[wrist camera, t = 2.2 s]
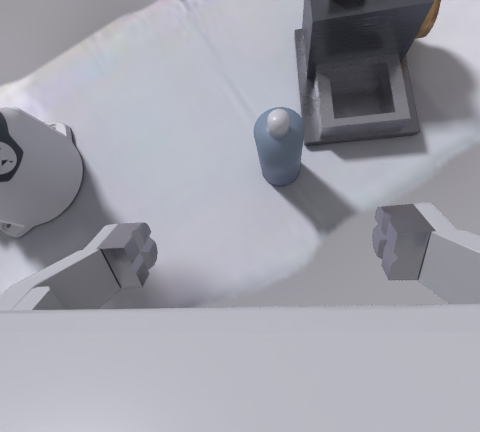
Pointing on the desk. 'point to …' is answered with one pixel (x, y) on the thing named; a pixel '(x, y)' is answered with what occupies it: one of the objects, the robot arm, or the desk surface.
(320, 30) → the gray recessed holder
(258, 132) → the bottle
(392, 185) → the desk surface
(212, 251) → the desk surface
